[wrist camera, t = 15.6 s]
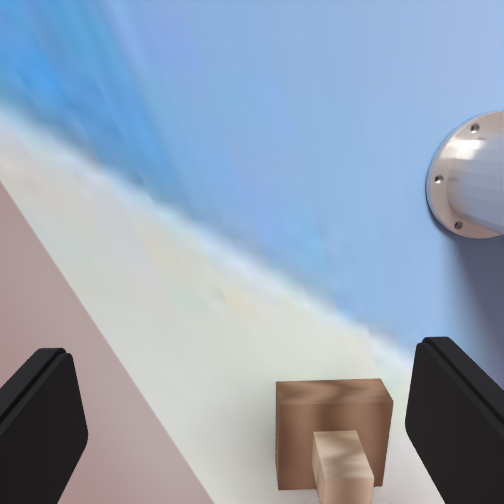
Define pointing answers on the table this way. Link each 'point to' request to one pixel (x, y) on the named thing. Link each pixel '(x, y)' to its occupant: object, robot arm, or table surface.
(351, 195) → the table surface
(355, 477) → the maple block
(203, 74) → the table surface
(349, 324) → the table surface
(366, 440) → the walnut base
